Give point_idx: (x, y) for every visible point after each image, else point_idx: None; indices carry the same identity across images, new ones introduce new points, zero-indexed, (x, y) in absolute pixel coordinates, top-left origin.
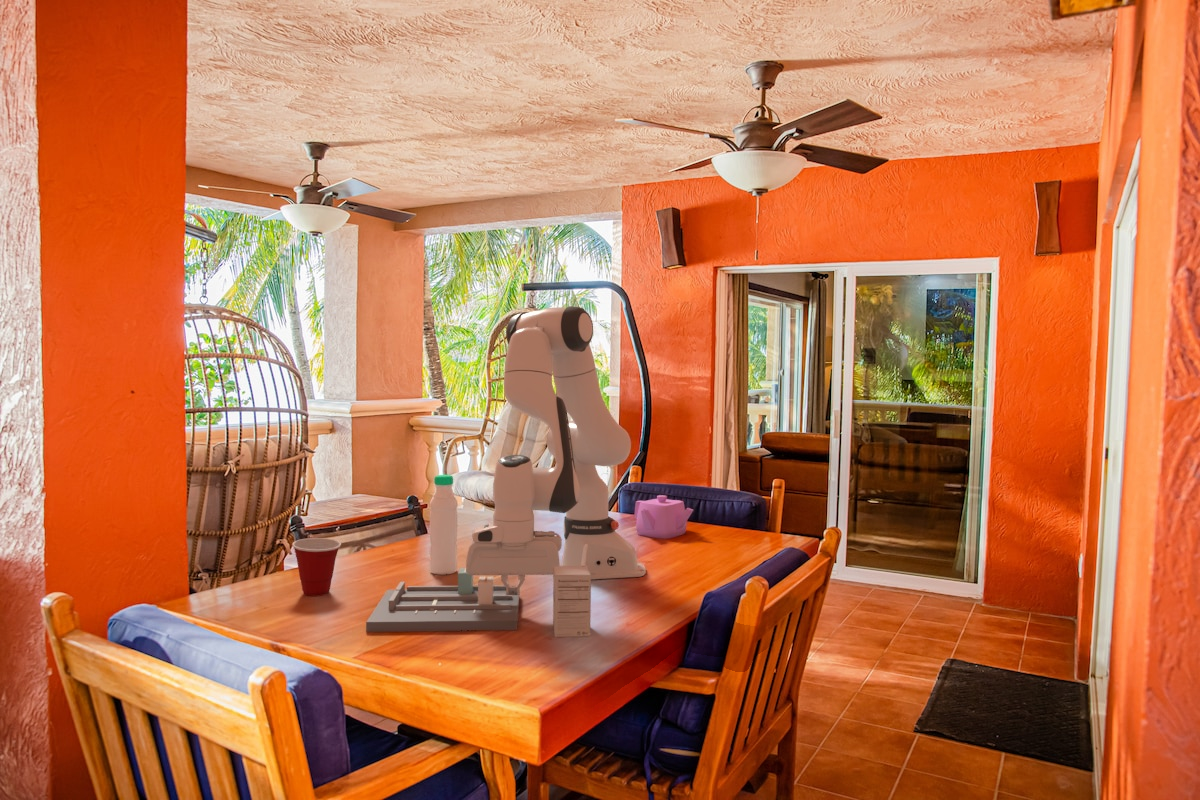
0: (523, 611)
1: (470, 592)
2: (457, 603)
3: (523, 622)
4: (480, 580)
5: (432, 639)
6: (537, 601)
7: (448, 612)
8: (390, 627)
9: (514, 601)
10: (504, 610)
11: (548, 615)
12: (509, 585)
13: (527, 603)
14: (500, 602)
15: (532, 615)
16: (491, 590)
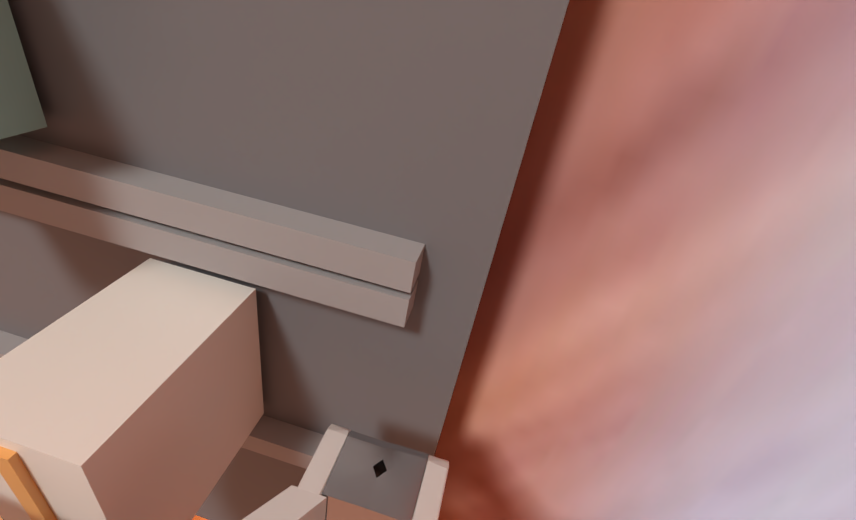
0: (503, 345)
1: (9, 130)
2: (35, 271)
3: (456, 485)
4: (12, 516)
5: None
6: (750, 117)
7: None
8: None
9: (428, 358)
10: None
11: (640, 458)
12: (327, 499)
13: (608, 161)
14: (319, 345)
15: (538, 425)
16: (188, 512)
